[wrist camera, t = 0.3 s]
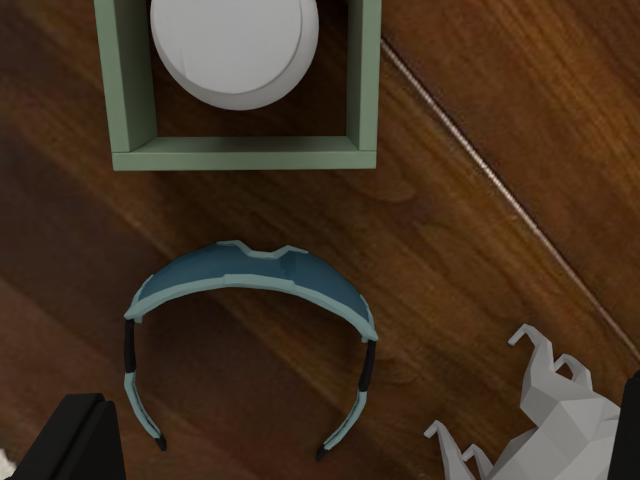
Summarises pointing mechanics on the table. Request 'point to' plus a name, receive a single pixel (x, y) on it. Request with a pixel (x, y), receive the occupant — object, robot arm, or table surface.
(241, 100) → the pill bottle
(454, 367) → the table surface
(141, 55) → the bin
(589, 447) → the grey dog statue
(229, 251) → the sunglasses
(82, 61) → the table surface
